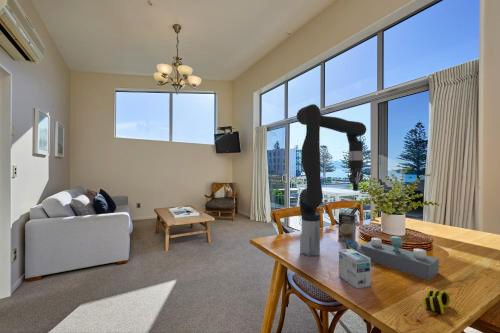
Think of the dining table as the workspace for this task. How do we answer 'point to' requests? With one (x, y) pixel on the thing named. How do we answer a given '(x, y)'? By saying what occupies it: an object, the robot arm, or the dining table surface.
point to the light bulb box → (355, 268)
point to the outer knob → (419, 254)
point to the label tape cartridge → (353, 246)
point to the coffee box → (347, 227)
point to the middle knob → (396, 243)
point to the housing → (402, 260)
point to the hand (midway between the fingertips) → (355, 190)
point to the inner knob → (376, 242)
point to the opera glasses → (436, 300)
